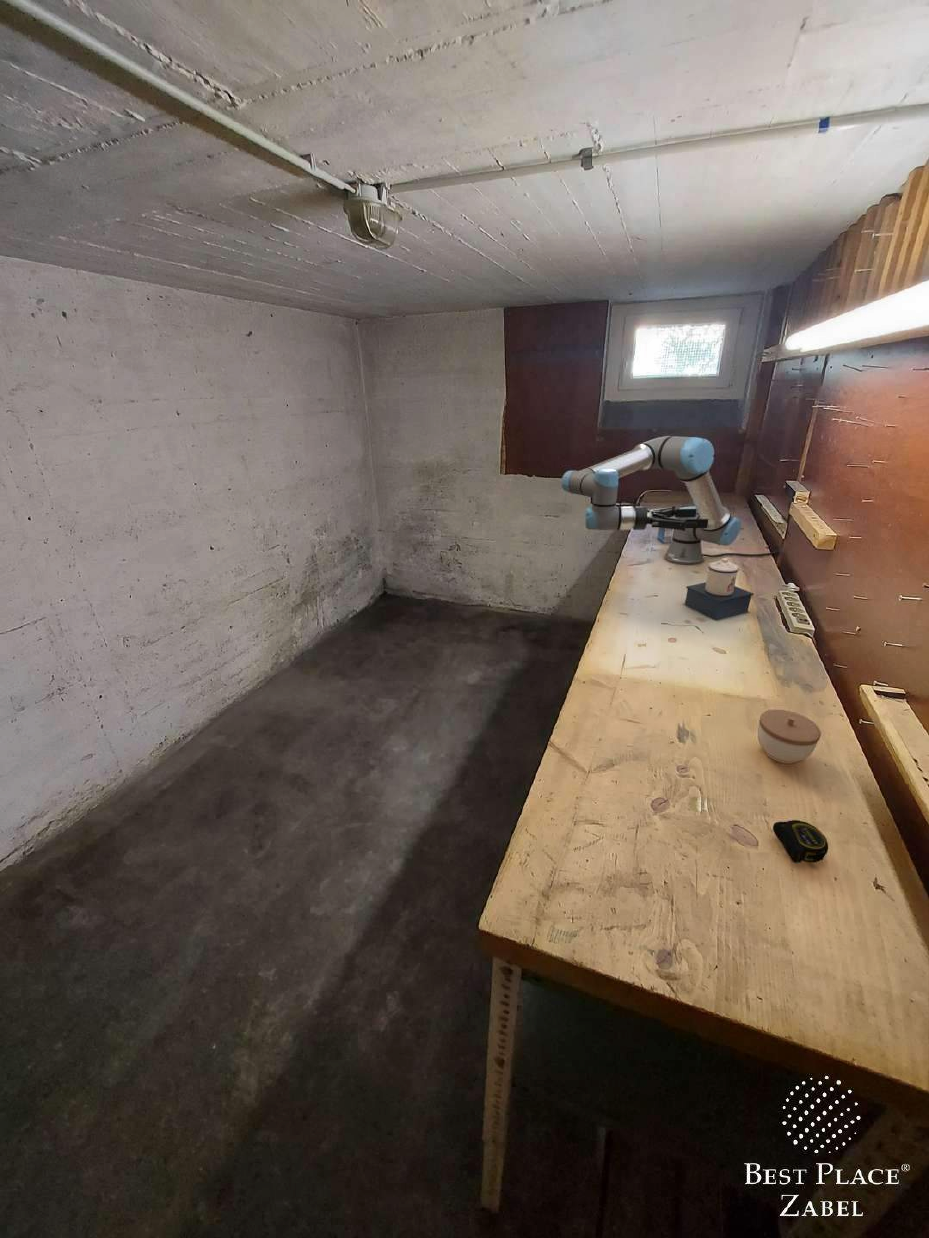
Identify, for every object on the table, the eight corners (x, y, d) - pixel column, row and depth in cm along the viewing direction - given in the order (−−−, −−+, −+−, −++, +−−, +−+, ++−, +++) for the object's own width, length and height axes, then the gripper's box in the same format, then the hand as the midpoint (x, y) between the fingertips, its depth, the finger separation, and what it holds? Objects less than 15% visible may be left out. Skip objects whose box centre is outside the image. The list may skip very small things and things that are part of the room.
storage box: (714, 597, 177) (718, 579, 174) (749, 612, 165) (753, 593, 162) (683, 604, 172) (686, 586, 169) (716, 620, 160) (720, 601, 157)
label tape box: (671, 542, 237) (674, 518, 231) (662, 543, 237) (666, 518, 232) (664, 537, 245) (668, 513, 239) (656, 538, 245) (659, 514, 240)
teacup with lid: (732, 598, 159) (739, 564, 154) (702, 593, 163) (708, 561, 158) (735, 586, 168) (742, 554, 163) (707, 582, 172) (712, 550, 167)
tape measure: (768, 832, 86) (773, 817, 84) (809, 833, 85) (815, 818, 83) (788, 866, 80) (794, 851, 78) (832, 868, 79) (839, 853, 77)
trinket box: (741, 739, 108) (750, 705, 104) (787, 735, 108) (798, 700, 104) (773, 773, 98) (784, 737, 94) (823, 768, 99) (836, 732, 95)
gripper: (626, 520, 172) (689, 519, 169) (638, 540, 150) (710, 540, 147) (628, 498, 169) (693, 498, 166) (640, 516, 147) (715, 516, 143)
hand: (701, 518), depth 156 cm, fingers open, 13 cm apart
